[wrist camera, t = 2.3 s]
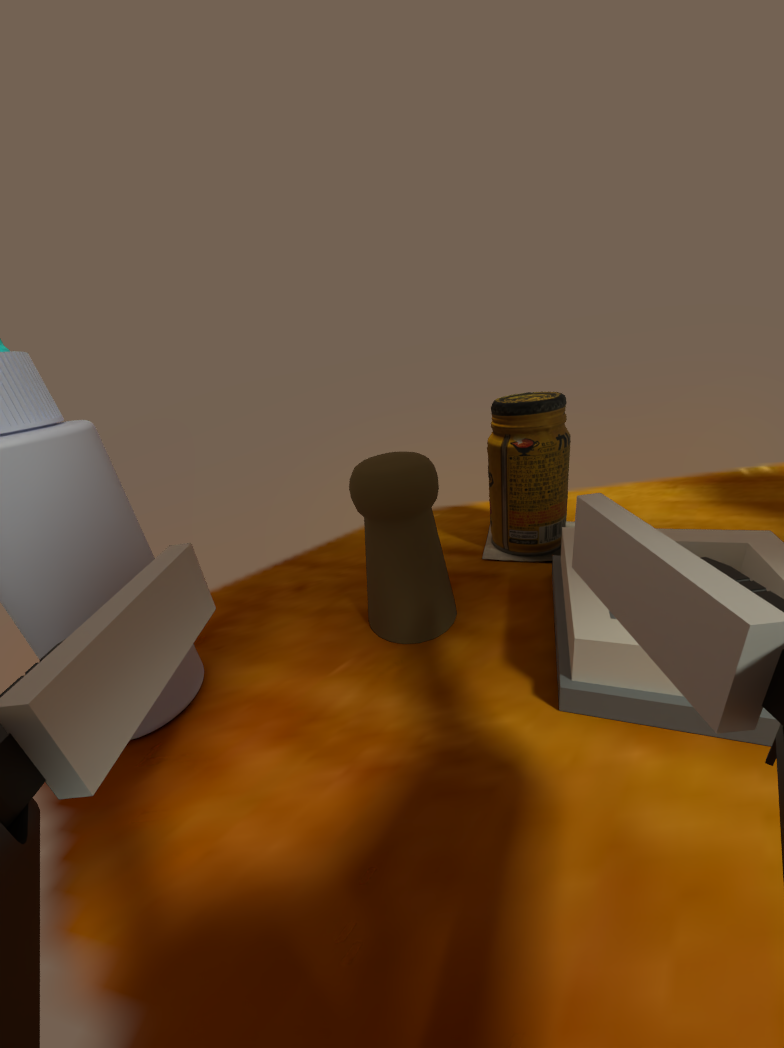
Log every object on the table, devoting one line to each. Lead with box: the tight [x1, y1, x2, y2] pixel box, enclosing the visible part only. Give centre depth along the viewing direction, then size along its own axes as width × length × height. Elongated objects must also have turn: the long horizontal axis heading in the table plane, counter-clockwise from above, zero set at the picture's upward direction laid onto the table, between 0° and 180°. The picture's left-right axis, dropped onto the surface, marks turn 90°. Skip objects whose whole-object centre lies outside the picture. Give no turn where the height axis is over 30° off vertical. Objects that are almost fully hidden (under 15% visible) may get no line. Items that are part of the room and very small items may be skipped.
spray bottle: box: [0, 339, 204, 740], centre depth 18 cm, size 6×6×22 cm
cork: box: [349, 452, 457, 644], centre depth 24 cm, size 6×6×11 cm
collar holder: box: [552, 527, 784, 746], centre depth 20 cm, size 12×12×4 cm
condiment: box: [482, 392, 575, 561], centre depth 30 cm, size 7×8×12 cm
